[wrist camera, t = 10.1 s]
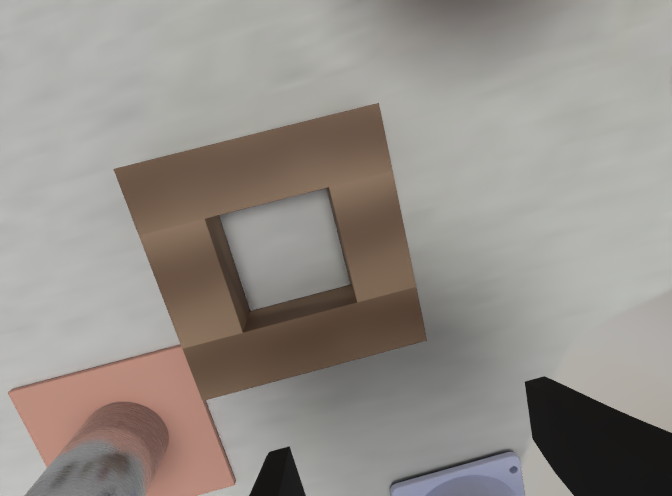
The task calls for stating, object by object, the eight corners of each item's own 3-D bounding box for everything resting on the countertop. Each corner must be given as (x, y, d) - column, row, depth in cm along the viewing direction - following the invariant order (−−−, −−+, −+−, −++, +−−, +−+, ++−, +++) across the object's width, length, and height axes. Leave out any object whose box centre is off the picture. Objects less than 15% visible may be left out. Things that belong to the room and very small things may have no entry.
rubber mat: (235, 480, 22) (234, 484, 22) (82, 523, 22) (79, 528, 21) (183, 343, 20) (181, 346, 19) (11, 389, 19) (7, 392, 19)
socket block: (412, 319, 20) (427, 340, 18) (214, 372, 20) (202, 400, 18) (368, 110, 18) (378, 102, 15) (139, 167, 18) (113, 169, 15)
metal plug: (176, 465, 21) (127, 586, 15) (94, 478, 21) (11, 607, 15) (159, 395, 20) (98, 495, 14) (72, 408, 20) (-28, 517, 14)
